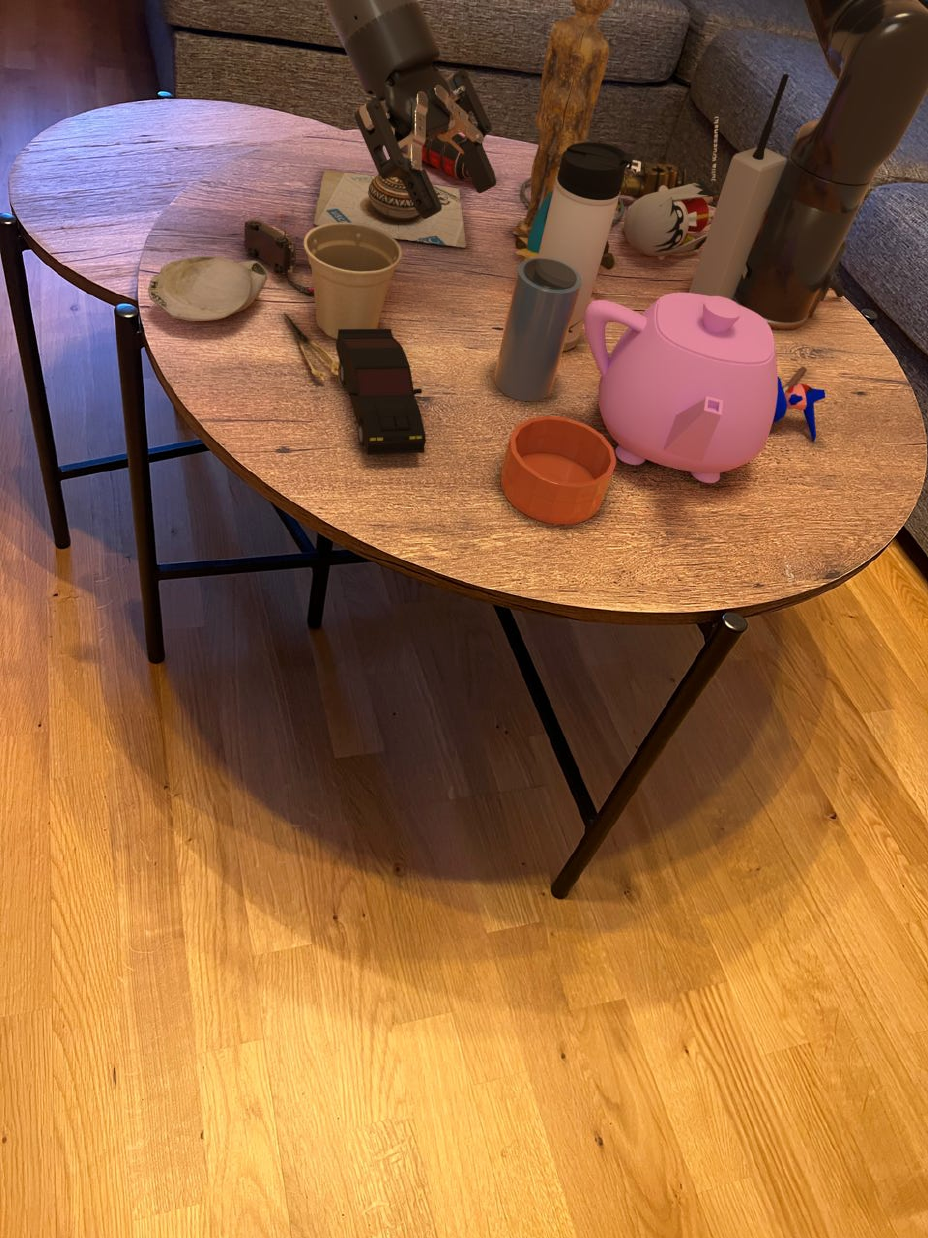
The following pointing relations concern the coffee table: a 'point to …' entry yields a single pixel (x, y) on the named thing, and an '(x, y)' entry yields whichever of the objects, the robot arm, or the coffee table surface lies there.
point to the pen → (794, 379)
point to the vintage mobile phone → (739, 213)
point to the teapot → (686, 382)
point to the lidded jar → (388, 208)
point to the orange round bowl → (557, 469)
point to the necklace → (309, 290)
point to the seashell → (206, 287)
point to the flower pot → (350, 274)
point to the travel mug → (583, 216)
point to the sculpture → (566, 95)
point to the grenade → (444, 158)
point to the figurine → (798, 403)
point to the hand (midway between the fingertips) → (461, 201)
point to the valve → (652, 180)
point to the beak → (318, 349)
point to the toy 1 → (533, 242)
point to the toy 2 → (670, 218)
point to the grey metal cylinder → (536, 328)
